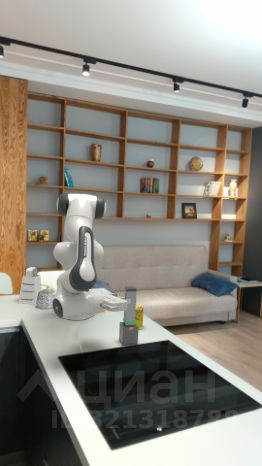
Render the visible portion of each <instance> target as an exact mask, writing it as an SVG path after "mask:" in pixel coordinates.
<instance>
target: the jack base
mask: <svg viewBox="0 0 262 466" xmlns="http://www.w3.org/2000/svg"><path fill="white" fill-rule="evenodd" d="M123 322H124V321H120V322H119V328H118V329H119V334H118V341H119V343H120V345H121V346H122V347H123V346H124V347H125V346H127V347H129V346H138V345H139V344H138V343H139V331H140V330H139V327H138V325H137V324H136V323H135V326H124V324H123Z"/></svg>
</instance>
